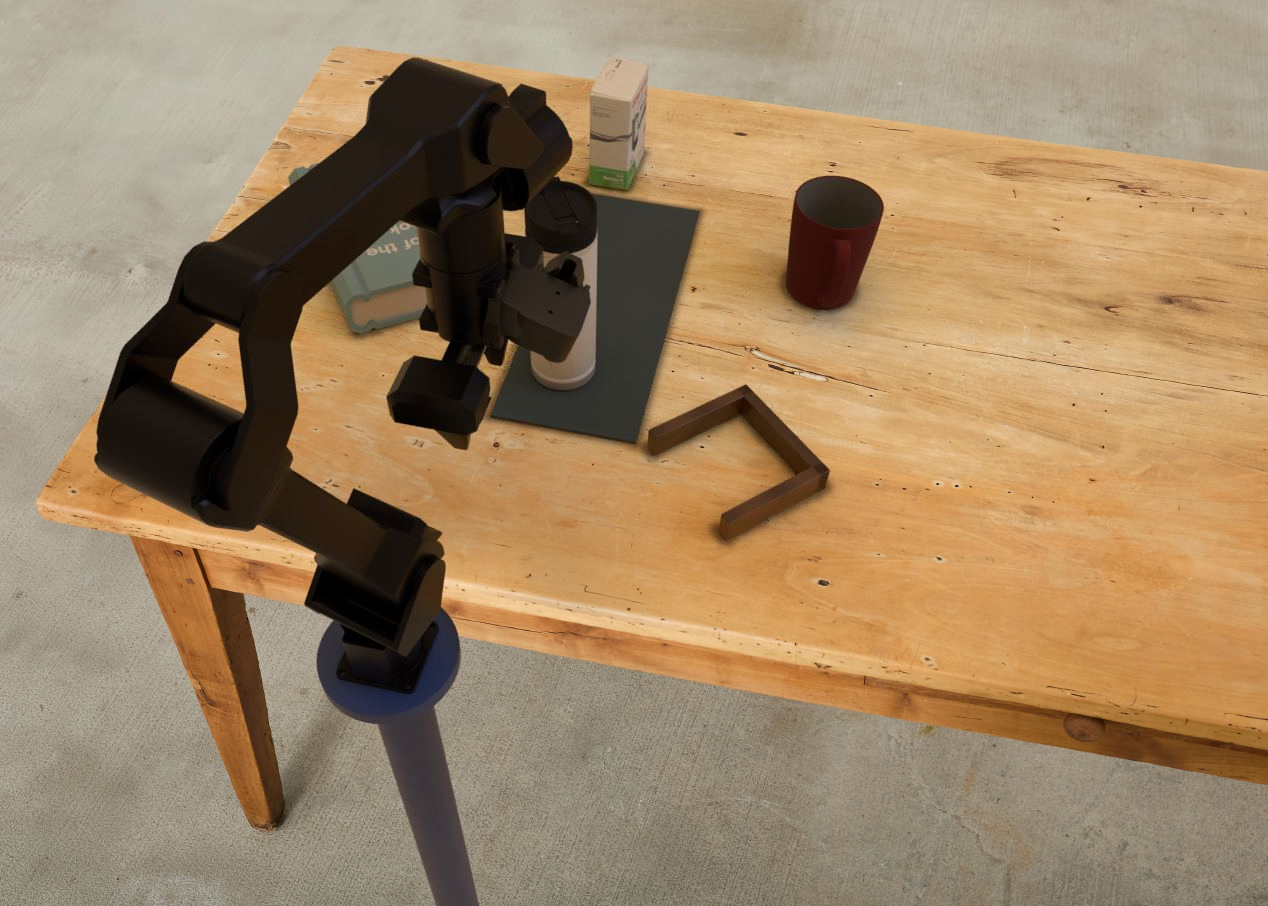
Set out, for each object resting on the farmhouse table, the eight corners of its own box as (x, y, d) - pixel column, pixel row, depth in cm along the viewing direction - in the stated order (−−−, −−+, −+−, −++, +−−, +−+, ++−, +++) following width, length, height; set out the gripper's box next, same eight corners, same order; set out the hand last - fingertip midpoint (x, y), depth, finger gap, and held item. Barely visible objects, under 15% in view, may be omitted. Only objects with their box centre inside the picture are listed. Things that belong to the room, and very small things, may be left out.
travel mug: (582, 338, 106) (583, 169, 91) (604, 383, 102) (608, 214, 87) (522, 352, 105) (512, 182, 89) (542, 398, 101) (535, 228, 86)
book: (502, 294, 110) (499, 257, 107) (351, 336, 106) (342, 298, 102) (433, 176, 123) (428, 138, 120) (295, 208, 118) (286, 170, 115)
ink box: (627, 192, 123) (631, 101, 114) (586, 185, 123) (587, 93, 114) (645, 151, 128) (650, 61, 119) (606, 144, 129) (608, 54, 120)
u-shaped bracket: (726, 540, 91) (729, 523, 89) (646, 447, 98) (648, 429, 96) (825, 487, 95) (830, 470, 94) (743, 401, 102) (746, 383, 100)
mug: (868, 337, 108) (893, 252, 100) (783, 333, 108) (800, 248, 100) (856, 262, 116) (878, 177, 108) (776, 258, 116) (792, 173, 108)
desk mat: (635, 444, 98) (635, 441, 98) (490, 417, 99) (490, 415, 99) (699, 212, 121) (699, 210, 121) (580, 193, 122) (580, 191, 122)
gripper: (543, 362, 64) (548, 516, 76) (610, 184, 76) (605, 341, 88) (368, 331, 65) (400, 488, 77) (461, 160, 77) (476, 319, 89)
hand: (479, 404), depth 83 cm, fingers open, 9 cm apart
